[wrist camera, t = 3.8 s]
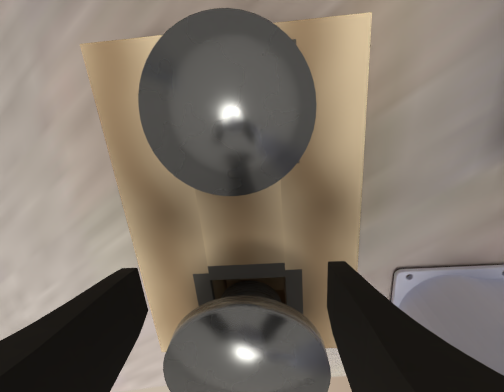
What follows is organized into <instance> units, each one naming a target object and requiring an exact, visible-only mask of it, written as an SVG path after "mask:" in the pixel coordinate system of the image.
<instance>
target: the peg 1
mask: <svg viewBox="0 0 504 392" xmlns="http://www.w3.org/2000/svg"><path fill="white" fill-rule="evenodd" d="M138 106H139V114H140V121H141V124H142V128H143V131H144V134H145V136H146V139H147V141H148V143H149V145H150V147H151V149H152V151H153V152H154V154H155V155H156V157H157V158H158V159H159V161H160V162H161V163H162V164H163V165H164V167H165V168H166V169H167V170H168V171H169V172H170V173H172V174H173V175H174V176H175V177H176V178H178V179H179V180H181V181H182V182H184V183H185V184H187V185H189V186H191V187H193V188H194V189H197V190H200V191H202V192H205V193H209V194H213V195H219V196H241V195H248V194H252V193H255V192H258V191H261V190H263V189H266V188H268V187H270V186H271V185H273V184H275V183H276V182H278V181H279V180H281V179H282V178H283V177H285V176H286V175H287V174H288V173H289V172H290V171H291V170H292V169H293V168H294V166H295V165H296V164H297V163H298V162H299V160H300V159H301V157H302V155H303V154H304V152H305V150H306V148H307V146H308V144H309V142H310V139H311V136H312V133H313V130H314V125H315V119H316V107H317V103H316V91H315V86H314V81H313V78H312V75H311V72H310V69H309V66H308V64H307V62H306V60H305V58H304V56H303V54H302V53H301V51H300V50H299V48H298V47H297V45H296V44H295V43H294V42H293V41H292V39H291V38H290V37H289V36H288V35H287V34H286V33H285V32H284V31H282V30H281V29H280V28H279V27H278V26H277V25H275V24H273V23H272V22H270V21H269V20H267V19H265V18H263V17H261V16H259V15H256V14H254V13H251V12H247V11H244V10H239V9H231V8H219V9H210V10H205V11H201V12H198V13H195V14H193V15H190V16H188V17H186V18H184V19H183V20H181V21H179V22H178V23H176V24H175V25H174V26H172V27H171V28H170V29H168V30H167V32H166V33H165V34H164V35H163V36H162V37H161V38H160V39H159V40H158V42H157V43H156V44H155V46H154V47H153V48H152V50H151V52H150V54H149V56H148V58H147V60H146V62H145V65H144V68H143V70H142V74H141V79H140V83H139V93H138Z"/></svg>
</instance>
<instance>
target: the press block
mask: <svg viewBox="0 0 504 392" xmlns="http://www.w3.org/2000/svg"><path fill="white" fill-rule="evenodd" d="M371 19H372V12H370V13H361V14H351V15H342V16H333V17H324V18H315V19H305V20H296V21H287V22H278V23H273V24H275V25H277V26H278V27H279V28H280V29H281V30H282V31H284V32H285V33H286V34H287V35H288V36H289V37H290V38H291V39H292V41H293V42H294V43H295V44H296V45H297V47H298V48H299V50H300V51H301V53H302V54H303V56H304V58H305V60H306V62H307V64H308V66H309V69H310V72H311V75H312V78H313V81H314V86H315V91H316V103H317V107H316V119H315V125H314V130H313V133H312V136H311V139H310V142H309V144H308V146H307V148H306V150H305V152H304V154H303V155H302V157H301V159H300V160H299V162H298V163H297V164H296V165H295V166H294V168H293V169H292V170H291V171H290V172H289V173H288V174H287V175H286V176H285V177H283V178H282V179H281V180H279V181H278V182H276V183H275V184H273V185H271V186H270V187H268V188H266V189H263V190H261V191H258V192H255V193H252V194H248V195H241V196H219V195H213V194H209V193H205V192H202V191H200V190H197V189H194V188H193V187H191V186H189V185H187V184H185V183H184V182H182V181H181V180H179V179H178V178H176V177H175V176H174V175H173V174H172V173H170V172H169V171H168V170H167V169H166V168H165V167H164V165H163V164H162V163H161V162H160V161H159V159H158V158H157V157H156V155H155V154H154V152H153V151H152V149H151V147H150V145H149V143H148V141H147V139H146V136H145V134H144V131H143V128H142V124H141V121H140V114H139V106H138V93H139V83H140V79H141V74H142V70H143V68H144V65H145V62H146V60H147V58H148V56H149V54H150V52H151V50H152V48H153V47H154V46H155V44H156V43H157V42H158V40H159V39H160V38H161V37H162V36H163V35H158V36H149V37H140V38H131V39H122V40H113V41H103V42H94V43H85V44H80V47H81V50H82V54H83V58H84V62H85V65H86V69H87V73H88V77H89V80H90V84H91V88H92V92H93V95H94V99H95V103H96V107H97V110H98V114H99V118H100V122H101V125H102V129H103V133H104V137H105V140H106V144H107V148H108V152H109V155H110V159H111V163H112V167H113V170H114V174H115V178H116V182H117V185H118V189H119V193H120V197H121V200H122V204H123V208H124V212H125V215H126V219H127V223H128V227H129V230H130V234H131V238H132V242H133V245H134V249H135V253H136V257H137V260H138V264H139V268H140V272H141V275H142V279H143V283H144V287H145V290H146V294H147V298H148V302H149V306H150V309H151V313H152V317H153V321H154V324H155V328H156V332H157V336H158V339H159V343H160V347H161V351H162V352H166V351H167V349H168V346H169V344H170V341H171V338H172V336H173V333H174V331H175V329H176V327H177V326H178V324H179V323H180V322H181V320H182V319H183V318H184V317H185V316H186V315H187V314H189V313H190V312H191V311H192V310H194V309H195V308H197V307H199V306H201V305H203V304H205V303H207V302H210V301H213V300H216V299H219V298H221V296H222V294H223V293H224V291H225V290H226V289H227V288H228V287H230V286H231V285H233V284H235V283H238V282H241V281H258V282H262V283H265V284H267V285H269V286H270V287H272V288H273V289H274V290H275V291H276V292H277V293H278V295H279V297H280V299H281V302H282V303H284V304H286V305H288V306H290V307H292V308H294V309H295V310H297V311H298V312H300V313H302V314H303V315H304V316H305V317H306V318H308V319H309V320H310V321H311V322H312V324H313V325H314V326H315V327H316V328H317V330H318V331H319V333H320V335H321V337H322V339H323V341H324V345H325V348H337V346H336V343H335V340H334V337H333V333H332V329H331V325H330V320H329V315H328V310H327V277H328V262H329V261H346V262H347V263H348V264H349V265H350V266H351V267H352V268H353V269H354V270H355V271H356V272H357V268H358V250H359V232H360V214H361V197H362V179H363V161H364V143H365V126H366V108H367V90H368V72H369V55H370V37H371Z"/></svg>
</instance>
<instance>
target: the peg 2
mask: <svg viewBox="0 0 504 392" xmlns="http://www.w3.org/2000/svg"><path fill="white" fill-rule="evenodd" d="M163 372H164V377H165V381H166V383H167V386H168V388H169V390H170V391H171V392H328V388H329V385H330V378H331V373H330V365H329V361H328V357H327V353H326V349H325V345H324V341H323V339H322V337H321V335H320V333H319V331H318V330H317V328H316V327H315V326H314V325H313V324H312V322H311V321H310V320H309V319H308V318H306V317H305V316H304V315H303V314H302V313H300V312H298V311H297V310H295V309H294V308H292V307H290V306H288V305H286V304H284V303H282V302H281V299H280V297H279V295H278V293H277V292H276V291H275V290H274V289H273V288H272V287H270V286H269V285H267V284H265V283H262V282H258V281H241V282H238V283H235V284H233V285H231V286H230V287H228V288H227V289H226V290H225V291H224V293H223V294H222V296H221V298H219V299H216V300H213V301H210V302H207V303H205V304H203V305H201V306H199V307H197V308H195V309H194V310H192V311H191V312H190V313H189V314H187V315H186V316H185V317H184V318H183V319H182V320H181V322H180V323H179V324H178V326H177V327H176V329H175V331H174V333H173V336H172V338H171V341H170V344H169V346H168V349H167V351H166V354H165V358H164V363H163Z"/></svg>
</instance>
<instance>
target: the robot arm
mask: <svg viewBox="0 0 504 392" xmlns="http://www.w3.org/2000/svg"><path fill="white" fill-rule="evenodd" d="M503 271H504V265H486V266H463V267H440V268H416V269H400V270H397V271H396V272H395V274H394V281H393V290H392V299H391V301H389V300H388V299H387V298H386V297H385V296H383V295H382V294H381V293H380V292H379V291H378V290H376V289H375V288H374V287H373V286H372V285H371V284H370V283H368V282H367V281H366V280H365V279H364V278H363V277H362V276H361V275H360V274H359V273H358V272H356V271H355V270H354V269H353V268H352V267H351V266H350V265H349V264H348V263H347V262H346V261H329V262H328V277H327V310H328V315H329V320H330V325H331V329H332V333H333V337H334V340H335V343H336V346H337V349H338V352H339V355H340V358H341V361H342V364H343V366H344V369H345V372H346V375H347V378H348V381H349V383H350V387H351V389H352V392H504V272H503ZM408 274H410V275H409V276H408V277H406V276H407V275H408ZM147 312H148V308H147V304H146V300H145V296H144V292H143V288H142V284H141V280H140V276H139V272H138V269H137V268H122V269H120V270H118V271H116V272H115V273H113V274H111V275H110V276H108V277H106V278H105V279H103V280H101V281H100V282H98V283H97V284H95V285H94V286H92V287H91V288H89V289H87V290H86V291H84V292H83V293H81V294H80V295H78V296H76V297H75V298H73V299H72V300H70V301H69V302H67V303H65V304H64V305H62V306H60V307H59V308H57V309H55V310H54V311H52V312H50V313H49V314H47V315H45V316H44V317H42V318H41V319H39V320H37V321H36V322H34V323H32V324H30V325H29V326H27V327H25V328H23V329H21V330H20V331H18V332H16V333H14V334H12V335H10V336H8V337H7V338H5V339H3V340H1V341H0V392H110V390H111V389H112V387H113V385H114V383H115V381H116V379H117V377H118V375H119V373H120V371H121V370H122V368H123V366H124V364H125V362H126V360H127V358H128V356H129V354H130V352H131V350H132V348H133V347H134V345H135V343H136V341H137V339H138V337H139V334H140V332H141V329H142V326H143V324H144V321H145V318H146V315H147Z"/></svg>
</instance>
